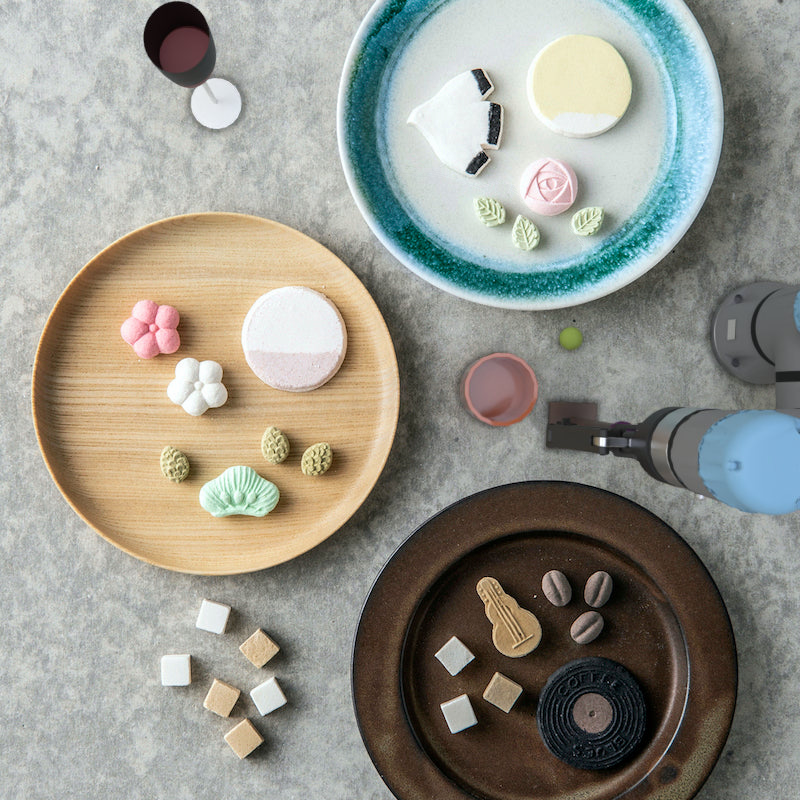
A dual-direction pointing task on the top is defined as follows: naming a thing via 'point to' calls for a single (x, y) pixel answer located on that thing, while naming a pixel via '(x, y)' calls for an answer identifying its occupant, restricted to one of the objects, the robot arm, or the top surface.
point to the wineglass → (191, 61)
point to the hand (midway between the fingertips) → (614, 434)
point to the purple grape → (621, 423)
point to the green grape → (570, 338)
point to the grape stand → (575, 414)
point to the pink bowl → (499, 389)
